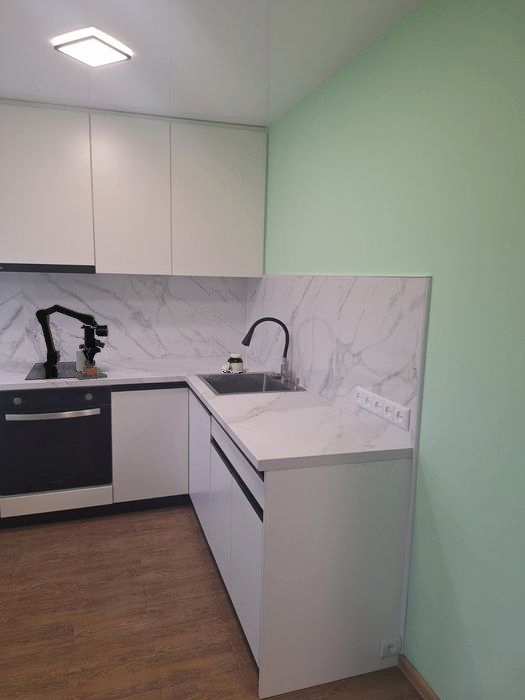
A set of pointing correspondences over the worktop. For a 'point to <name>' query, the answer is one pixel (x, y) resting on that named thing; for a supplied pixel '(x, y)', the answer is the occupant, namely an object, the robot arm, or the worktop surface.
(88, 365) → the jack column
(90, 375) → the stand base
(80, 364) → the supplement box
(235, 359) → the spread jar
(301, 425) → the worktop surface
